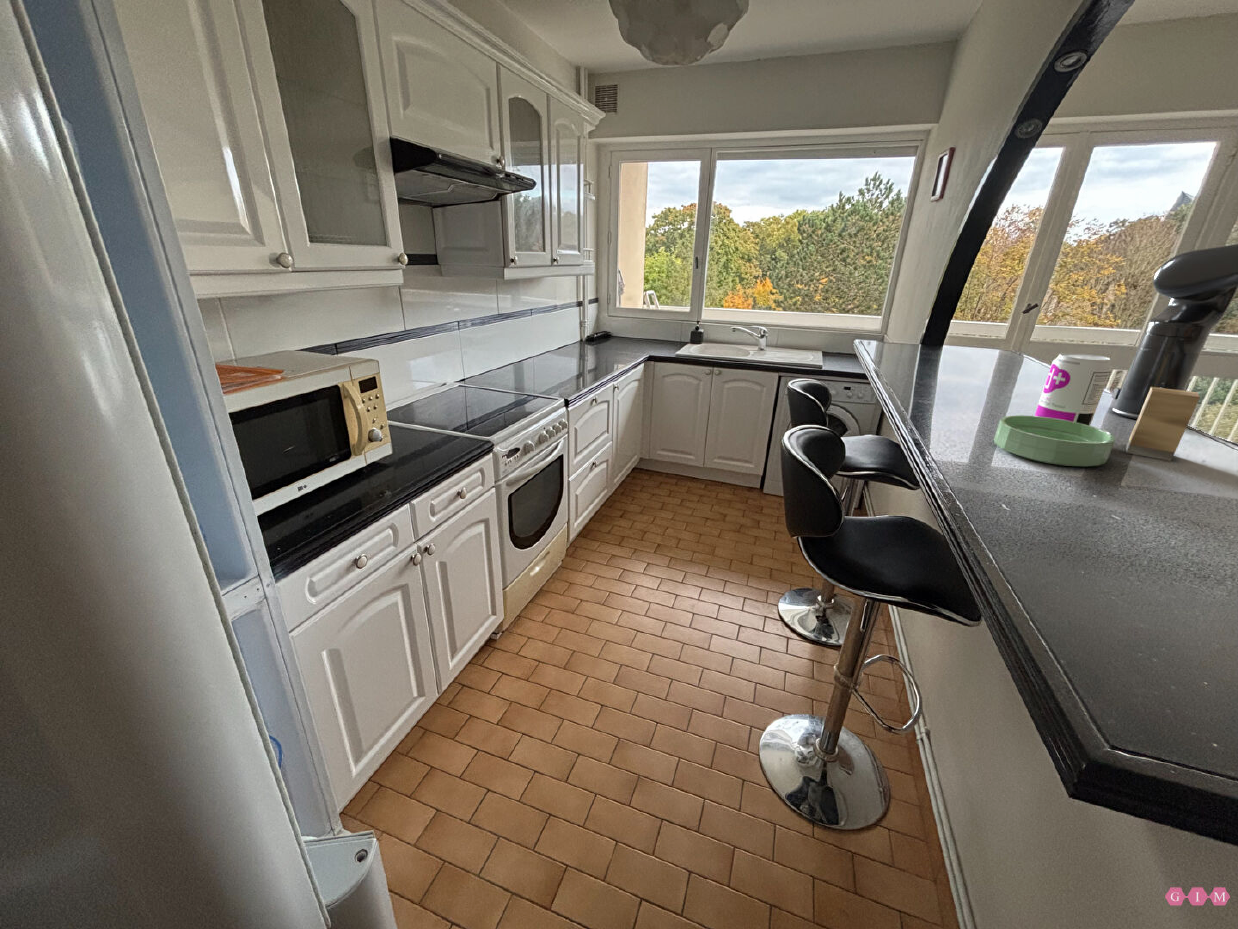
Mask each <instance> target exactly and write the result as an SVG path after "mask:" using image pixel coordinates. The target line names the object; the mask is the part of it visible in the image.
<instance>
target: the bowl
mask: <svg viewBox="0 0 1238 929" xmlns="http://www.w3.org/2000/svg"><path fill="white" fill-rule="evenodd" d="M993 438H994V439H993V442H994V444H995V445H996V446H998V448H1001V449H1003V450H1005V451H1007V452H1009V453H1012V454H1014V455H1016V456H1018V457H1021V458H1023V459H1026V460H1027V459H1028V460H1032V461H1035V462H1040V463H1044V464H1050V465H1054V466H1063V467H1097V466H1101V465H1104V464H1106V463H1107V461H1108V459H1109V456H1110V454H1111V451H1112V449H1113V446H1114V444H1115V442H1116V437H1115V436H1114V435H1113V434H1112V433H1111V432H1108V431H1106V430H1104V429H1101V428H1098V427H1095V426H1092V425H1090V426H1089V425H1086V424H1081V423H1077V422H1072V421H1068V420H1062V419H1056V418H1049V417H1040V416H1035V415H1024V414H1022V415H1021V414H1020V415H1017V414H1016V415H1007V416H1003V417H1001V418H1000V420H999V421H998V425H997V429H996V431H995V434H994V437H993Z"/></svg>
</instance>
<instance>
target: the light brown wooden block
mask: <svg viewBox="0 0 1238 929" xmlns="http://www.w3.org/2000/svg"><path fill="white" fill-rule="evenodd" d="M1200 399H1201V396H1200V395H1199V393H1198V392H1197V391H1189V390H1185V391H1182V390H1173V389H1165V388H1157V387H1151V388H1150V391H1149V393H1148V395H1147V398H1146V400H1145V403H1144V405H1143V407H1142V410H1141V412H1140V415H1139V417H1138V419H1136V422H1135V425H1134V427H1133V429H1132V431H1131V434H1130V436H1129V439H1128V440H1127V443H1126V447H1125V451H1126V454H1131V455H1137V456H1142V457H1148V458H1152V459H1158V460H1162V461H1163V460H1164V461H1169V462H1171V461H1172V460H1173V458H1174V455H1175V453H1176V451H1177V449H1178V446H1179V444H1180V442H1181V441H1182V438H1183V436H1184V434H1185V431H1186V429H1187V427H1188V425H1189V423H1190V421H1191V418H1192V417H1193V414H1194V412H1195V410H1196V408H1197V405H1198V403H1199V401H1200Z"/></svg>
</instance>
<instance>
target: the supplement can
mask: <svg viewBox="0 0 1238 929" xmlns="http://www.w3.org/2000/svg"><path fill="white" fill-rule="evenodd" d="M1112 370H1113V367H1112V364H1111V358H1110V357H1107V356H1102V355H1096V354H1087V353H1076V352H1075V353H1074V352H1062V353H1061V352H1060V353H1059V354H1058V356H1057V357H1056V358H1055V359H1054V360H1052V363H1051V366H1050V369H1049V371H1048V374H1047V378H1046V379H1045V383H1044V386H1043V389H1042V393H1041V395H1040V398H1039V401H1038V404H1037V407H1036V410H1035V413H1034V416H1040V417H1049V418H1056V419H1062V420H1068V421H1072V422H1077V423H1081V424H1086V425H1089V426H1092V425H1091V424H1092V421H1093V419H1094V416H1095V414H1096V411H1097V409H1098V406H1099V403H1100V402H1101V398H1102V395H1103V392H1104V390H1105V389H1106V385H1107V383H1108V381H1109V380H1108V379H1109V377H1110V375H1111V372H1112Z"/></svg>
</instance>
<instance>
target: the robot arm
mask: <svg viewBox="0 0 1238 929" xmlns="http://www.w3.org/2000/svg"><path fill="white" fill-rule="evenodd" d="M1152 285H1153V288H1154V290H1155V291H1156V292H1157V293H1158V294H1159V295H1161V296H1163V297H1165V298H1167V299H1170V300H1169V302H1168V304H1167V305H1166V307H1165V308H1164V309H1163V310H1162V311H1161V312H1160V313H1159V314H1157V315H1156V316H1153V317H1152V318H1151V319H1149V320H1148V322H1147V323H1146V325H1145V327H1144V331H1143V332H1142V336H1141V338H1140V341H1139V343H1138V346H1137V348H1136V351H1135V354H1134V356H1133V359H1132V361H1131V363H1130V366H1129V369H1128V371H1127V373H1126V376H1125V379H1124V381H1123V383H1122V387H1114V389H1113V392H1112V394H1111V398H1112V399H1113V400H1116V401H1115V404H1114V406H1113V407H1112V410H1111V412H1112V413H1113V414H1115V415H1118V416H1121V417H1125V418H1129V419H1134V420H1137V419H1138V417H1139V415H1140V412H1141V410H1142V407H1143V405H1144V403H1145V400H1146V398H1147V395H1148V393H1149V391H1150V388H1151V387H1157V388H1165V389H1173V390H1182V391H1186V389H1187V386H1188V384H1189V381H1190V379H1191V377H1192V375H1193V373H1194V370H1195V368H1196V366H1197V364H1198V361H1199V359H1200V357H1201V354H1202V352H1203V350H1204V347H1205V345H1206V343H1207V340H1208V338H1209V336H1210V334H1211V332H1212V330H1213V329H1214V328H1215V327H1216V326H1217V325H1218V324H1219V323H1220V322H1221V321H1222V319H1223V317H1224V316H1225V314H1226V312H1227V310H1228V308H1229V307H1230V305H1231V302H1232V301H1233V299H1234V297H1235V294H1236V292H1238V291H1237V290H1238V243H1234V244H1229V245H1222V246H1221V245H1220V246H1215V247H1207V248H1200V249H1191V250H1186V251H1184V252H1181V253H1178V254H1176V255H1174V256H1173V257H1170V258H1169V259H1167V260H1166V261H1165V262H1164V263H1162V264H1161V265H1160V266H1159V268H1158V269H1156V271H1155V274H1154V275H1153V278H1152Z"/></svg>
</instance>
